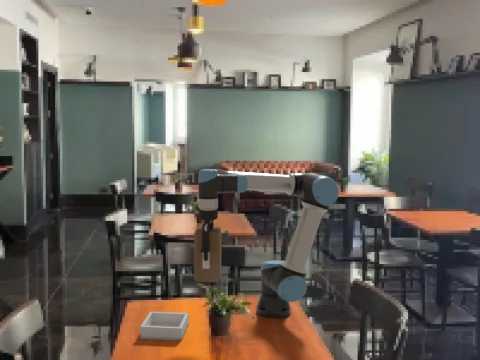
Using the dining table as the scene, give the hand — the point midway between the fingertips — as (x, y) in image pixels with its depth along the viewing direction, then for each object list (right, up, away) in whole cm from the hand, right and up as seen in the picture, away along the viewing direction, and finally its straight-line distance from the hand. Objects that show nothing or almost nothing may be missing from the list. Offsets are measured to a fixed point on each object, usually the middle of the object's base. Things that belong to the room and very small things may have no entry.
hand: (208, 264), depth 212 cm
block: (0, -6, +1) cm, 6 cm away
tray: (-17, -28, +5) cm, 33 cm away
